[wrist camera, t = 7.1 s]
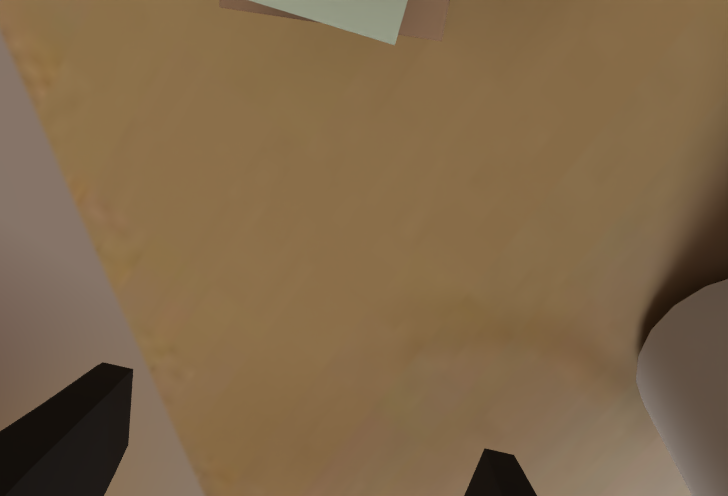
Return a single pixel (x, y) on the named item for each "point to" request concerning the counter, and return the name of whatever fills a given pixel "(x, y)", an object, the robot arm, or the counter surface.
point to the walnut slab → (418, 21)
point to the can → (691, 387)
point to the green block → (350, 15)
